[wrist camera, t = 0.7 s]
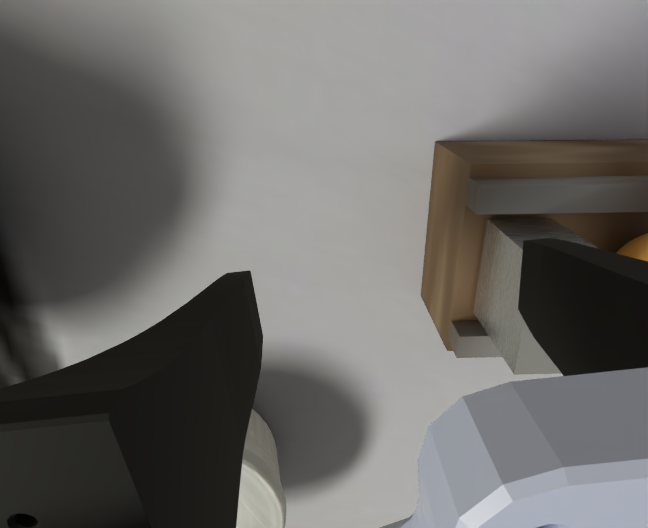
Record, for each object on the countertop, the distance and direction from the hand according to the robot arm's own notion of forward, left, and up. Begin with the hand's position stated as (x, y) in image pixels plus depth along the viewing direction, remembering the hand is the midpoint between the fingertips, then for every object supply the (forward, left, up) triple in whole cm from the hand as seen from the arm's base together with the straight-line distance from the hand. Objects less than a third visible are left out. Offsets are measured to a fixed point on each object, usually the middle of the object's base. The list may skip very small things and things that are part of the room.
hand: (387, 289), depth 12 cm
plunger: (-6, +2, -5) cm, 8 cm away
